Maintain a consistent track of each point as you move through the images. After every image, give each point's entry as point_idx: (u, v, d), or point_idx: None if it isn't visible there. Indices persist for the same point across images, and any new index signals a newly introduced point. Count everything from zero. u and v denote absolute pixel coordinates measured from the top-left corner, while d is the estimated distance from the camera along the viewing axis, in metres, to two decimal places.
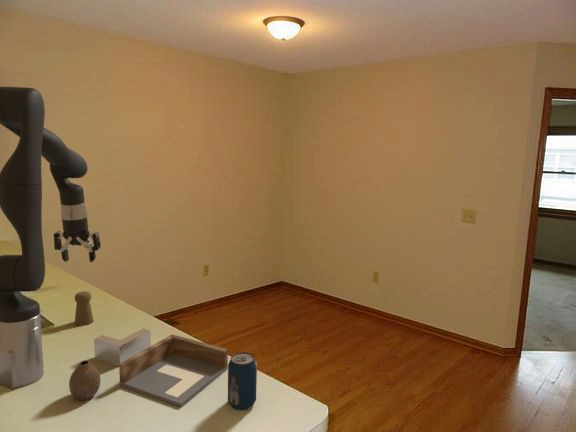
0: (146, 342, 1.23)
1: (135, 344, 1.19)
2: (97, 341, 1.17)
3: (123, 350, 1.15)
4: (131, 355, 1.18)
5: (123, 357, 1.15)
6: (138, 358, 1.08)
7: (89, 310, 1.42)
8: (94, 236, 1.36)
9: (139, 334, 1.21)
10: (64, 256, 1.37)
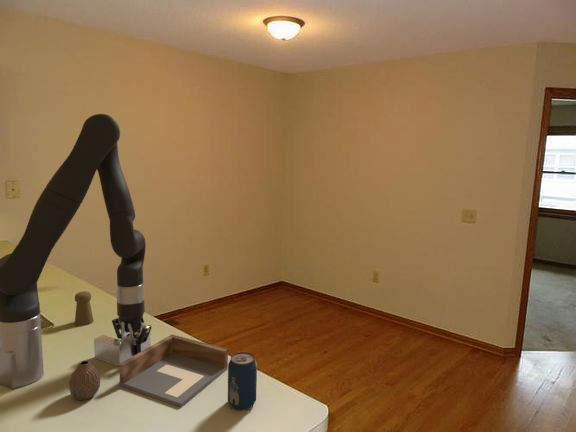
0: (146, 342, 1.23)
1: None
2: (97, 341, 1.17)
3: (123, 350, 1.15)
4: (131, 355, 1.18)
5: (123, 357, 1.15)
6: (138, 358, 1.08)
7: (89, 310, 1.42)
8: (143, 331, 1.15)
9: None
10: None
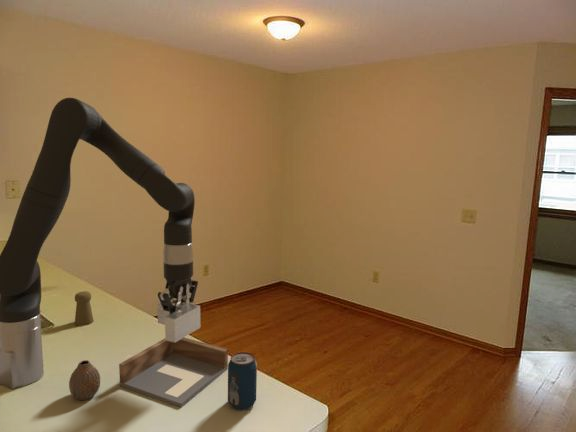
0: None
1: None
2: (178, 319, 0.99)
3: None
4: None
5: None
6: (138, 358, 1.08)
7: (89, 310, 1.42)
8: (196, 284, 1.12)
9: None
10: None
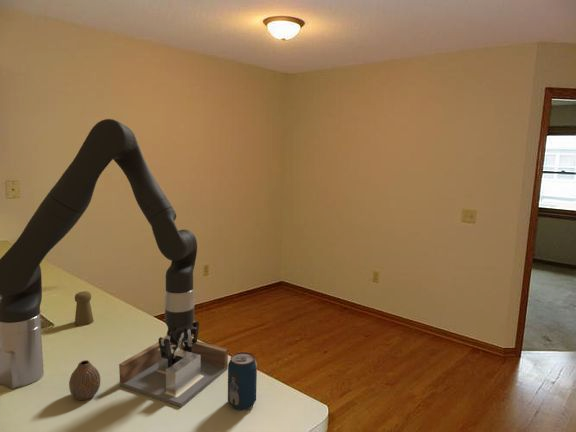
0: None
1: None
2: (179, 371, 1.00)
3: None
4: None
5: None
6: (138, 358, 1.08)
7: (89, 310, 1.42)
8: (198, 325, 1.13)
9: (172, 349, 1.10)
10: None
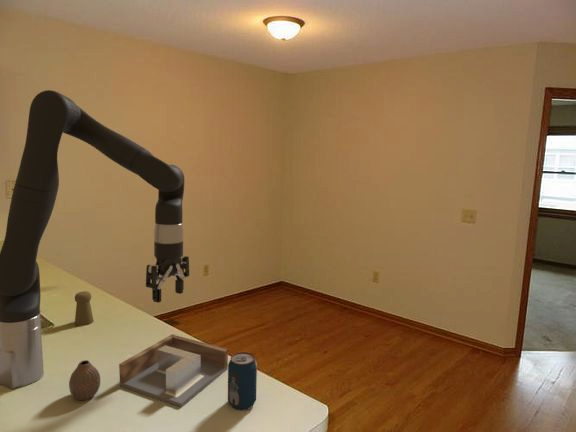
0: None
1: None
2: (179, 371, 1.00)
3: None
4: None
5: None
6: (138, 358, 1.08)
7: (89, 310, 1.42)
8: (187, 259, 1.15)
9: (172, 349, 1.10)
10: (160, 295, 1.06)
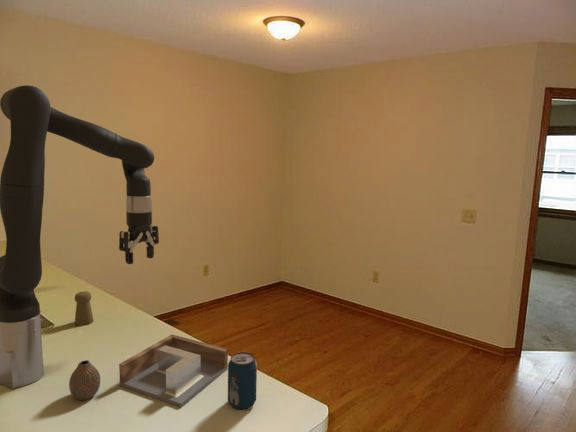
0: None
1: None
2: (179, 371, 1.00)
3: None
4: None
5: None
6: (138, 358, 1.08)
7: (89, 310, 1.42)
8: (157, 228, 1.32)
9: (172, 349, 1.10)
10: (132, 257, 1.23)
